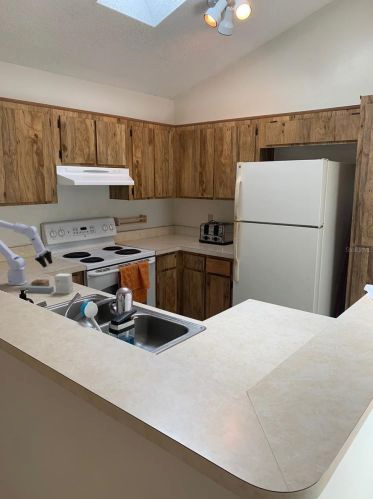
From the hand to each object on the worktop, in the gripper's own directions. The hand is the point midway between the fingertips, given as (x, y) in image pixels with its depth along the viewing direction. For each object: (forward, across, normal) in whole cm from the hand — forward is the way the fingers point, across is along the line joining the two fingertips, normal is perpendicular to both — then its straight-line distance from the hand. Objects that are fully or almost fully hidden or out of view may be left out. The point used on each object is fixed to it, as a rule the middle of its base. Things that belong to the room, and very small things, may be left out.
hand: (48, 265), depth 232 cm
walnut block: (+10, -9, +6) cm, 14 cm away
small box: (+17, -18, -12) cm, 27 cm away
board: (+10, -18, +3) cm, 21 cm away
